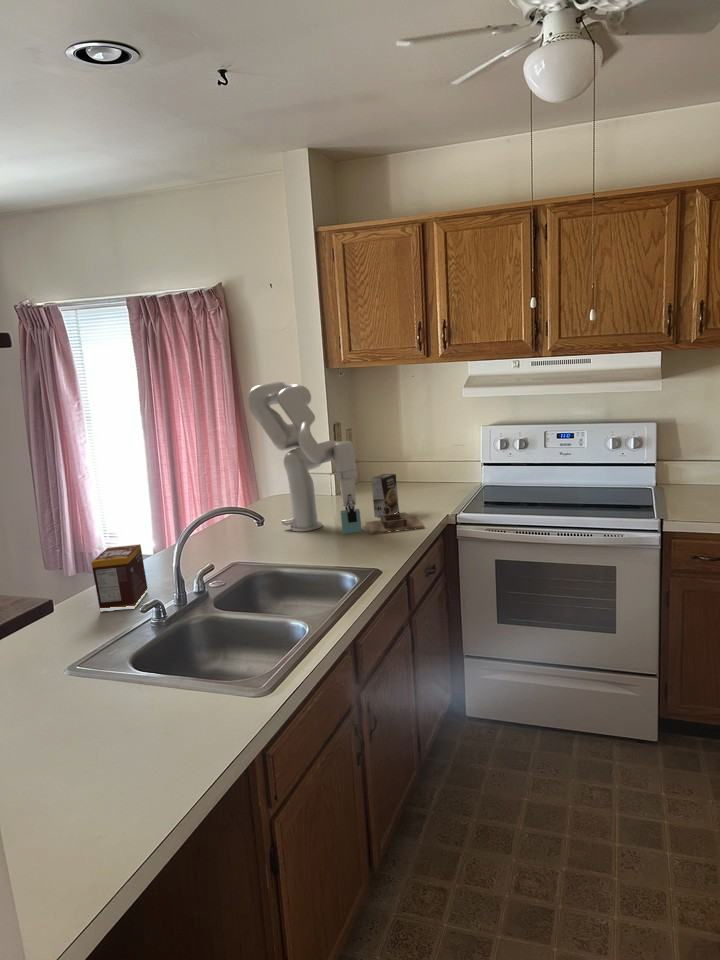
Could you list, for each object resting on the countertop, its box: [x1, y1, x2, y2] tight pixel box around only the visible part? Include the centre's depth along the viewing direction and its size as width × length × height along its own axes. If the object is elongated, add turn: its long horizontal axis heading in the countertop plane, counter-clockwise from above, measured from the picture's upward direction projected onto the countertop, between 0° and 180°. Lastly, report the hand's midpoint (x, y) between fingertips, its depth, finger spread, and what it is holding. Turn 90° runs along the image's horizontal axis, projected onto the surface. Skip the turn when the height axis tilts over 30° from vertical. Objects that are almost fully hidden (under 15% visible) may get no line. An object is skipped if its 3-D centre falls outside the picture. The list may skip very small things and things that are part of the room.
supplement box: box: [91, 544, 148, 609], centre depth 215 cm, size 10×15×16 cm
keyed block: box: [339, 508, 363, 535], centre depth 271 cm, size 7×4×8 cm, turn 95°
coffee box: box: [370, 473, 400, 518], centre depth 291 cm, size 9×6×16 cm
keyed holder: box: [365, 512, 424, 535], centre depth 273 cm, size 20×16×4 cm
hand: (351, 519), depth 271 cm, fingers open, 9 cm apart
